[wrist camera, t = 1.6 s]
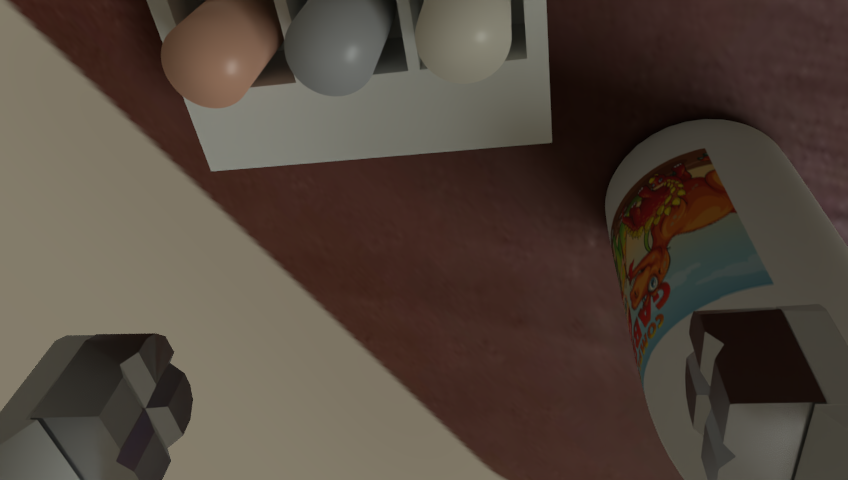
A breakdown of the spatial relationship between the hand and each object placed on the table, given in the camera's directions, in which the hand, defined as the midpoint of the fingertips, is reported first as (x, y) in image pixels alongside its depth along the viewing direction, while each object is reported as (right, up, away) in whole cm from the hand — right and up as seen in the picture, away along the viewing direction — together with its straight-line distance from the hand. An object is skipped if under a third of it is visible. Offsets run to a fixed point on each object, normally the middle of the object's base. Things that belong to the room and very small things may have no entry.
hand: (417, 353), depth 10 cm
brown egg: (-6, +10, +15) cm, 19 cm away
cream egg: (+2, +10, +14) cm, 17 cm away
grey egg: (-2, +10, +14) cm, 17 cm away
